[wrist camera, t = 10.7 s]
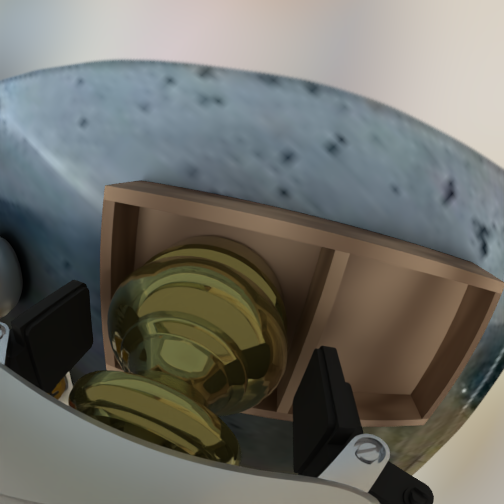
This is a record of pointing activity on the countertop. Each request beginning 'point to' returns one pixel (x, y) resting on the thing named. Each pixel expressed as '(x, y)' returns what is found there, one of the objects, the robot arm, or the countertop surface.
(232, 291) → the brass weight
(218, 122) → the countertop surface
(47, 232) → the countertop surface
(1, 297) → the plastic bottle
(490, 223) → the countertop surface
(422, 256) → the caddy
